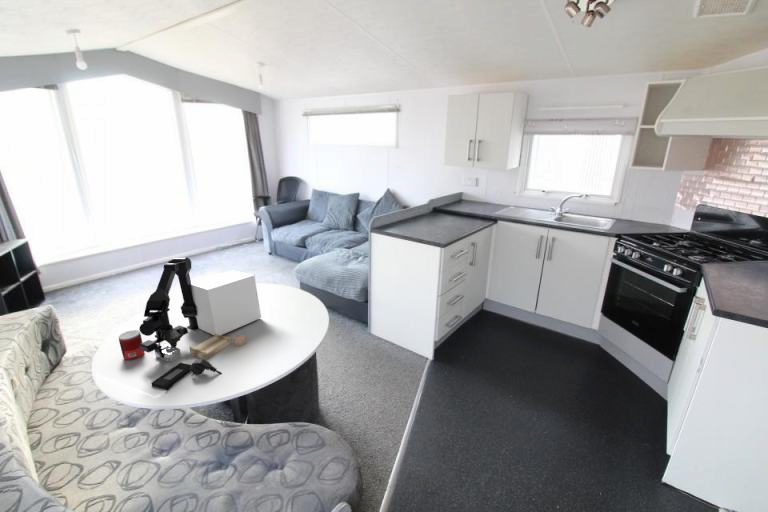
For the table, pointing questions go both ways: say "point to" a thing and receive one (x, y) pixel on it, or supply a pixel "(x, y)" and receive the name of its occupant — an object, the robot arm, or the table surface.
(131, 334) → the canned food
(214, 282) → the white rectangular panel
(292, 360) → the table surface
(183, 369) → the vhs tape
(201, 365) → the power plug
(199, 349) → the stand
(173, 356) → the housing
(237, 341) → the peach cylinder
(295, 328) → the table surface
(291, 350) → the table surface
